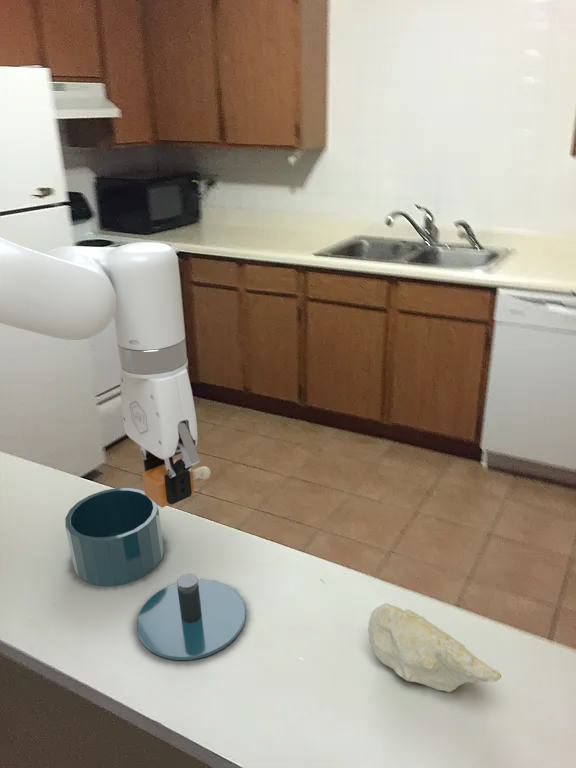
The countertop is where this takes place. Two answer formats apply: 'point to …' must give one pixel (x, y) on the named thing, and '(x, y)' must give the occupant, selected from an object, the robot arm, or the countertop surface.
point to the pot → (114, 536)
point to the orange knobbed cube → (156, 482)
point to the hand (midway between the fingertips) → (169, 490)
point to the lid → (191, 619)
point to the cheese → (423, 651)
